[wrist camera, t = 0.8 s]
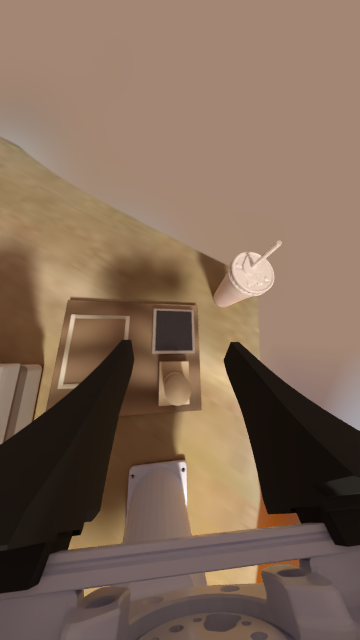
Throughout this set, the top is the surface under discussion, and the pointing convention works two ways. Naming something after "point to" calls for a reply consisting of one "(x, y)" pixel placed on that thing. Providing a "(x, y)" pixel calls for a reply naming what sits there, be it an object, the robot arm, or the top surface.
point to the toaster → (17, 397)
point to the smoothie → (246, 277)
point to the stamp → (174, 383)
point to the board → (103, 336)
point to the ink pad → (173, 331)
